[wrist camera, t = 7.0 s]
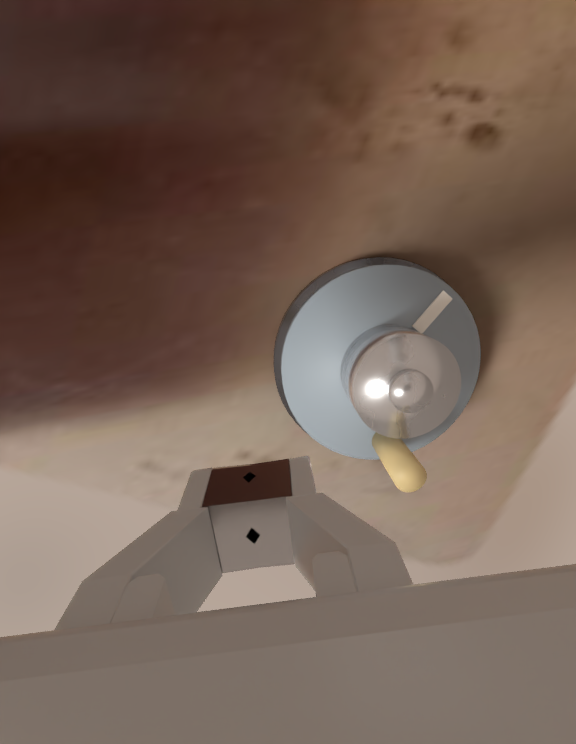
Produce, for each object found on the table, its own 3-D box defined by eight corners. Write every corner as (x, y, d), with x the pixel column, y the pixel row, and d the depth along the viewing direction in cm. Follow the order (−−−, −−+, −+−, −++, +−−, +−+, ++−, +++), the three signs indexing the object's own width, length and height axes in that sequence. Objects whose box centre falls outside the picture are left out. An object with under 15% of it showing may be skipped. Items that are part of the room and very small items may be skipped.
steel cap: (407, 305, 20) (439, 314, 16) (447, 384, 21) (484, 409, 17) (323, 356, 20) (335, 375, 16) (367, 429, 21) (387, 463, 18)
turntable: (419, 223, 20) (471, 208, 15) (497, 391, 22) (563, 426, 17) (243, 334, 21) (235, 354, 16) (339, 480, 24) (358, 537, 19)
